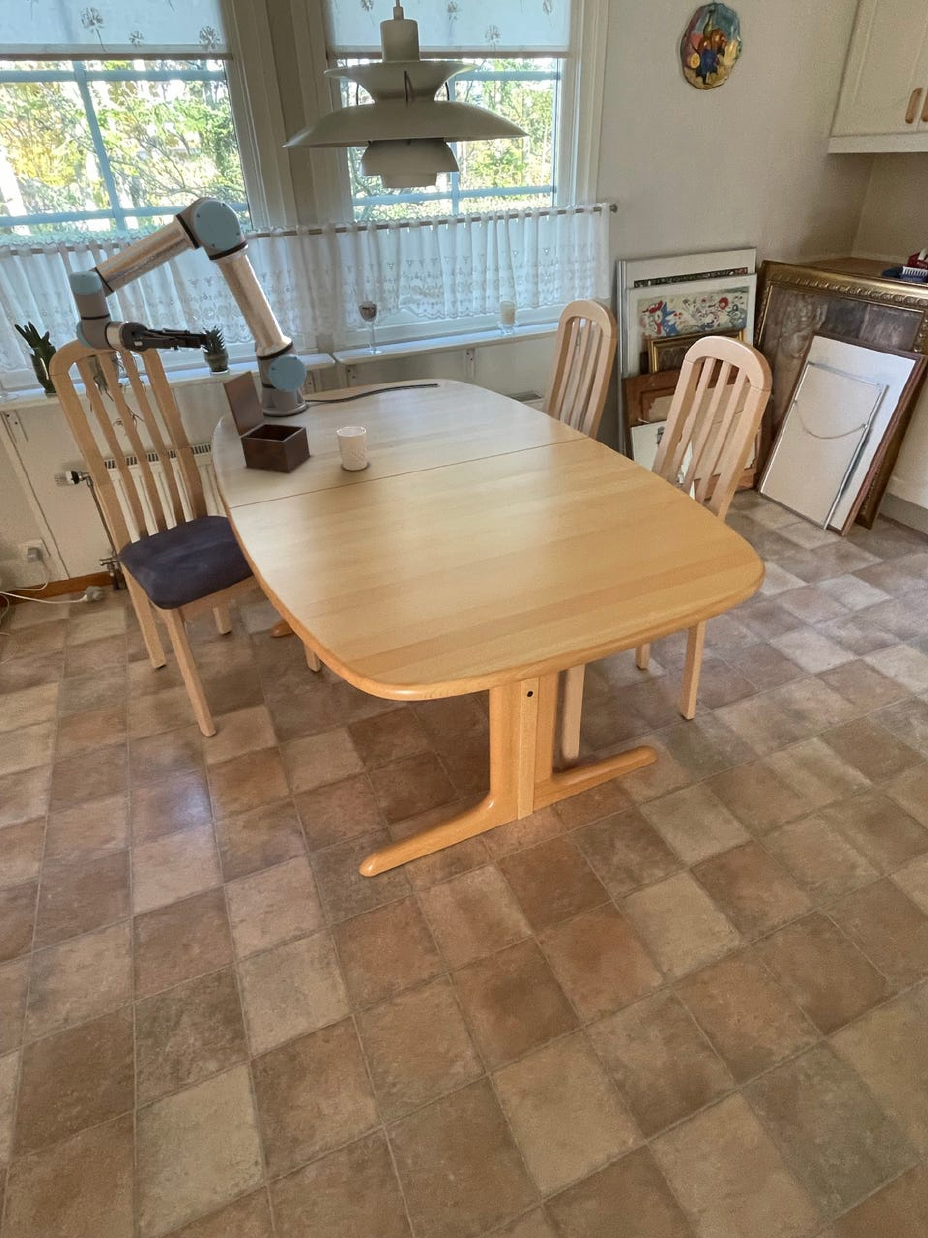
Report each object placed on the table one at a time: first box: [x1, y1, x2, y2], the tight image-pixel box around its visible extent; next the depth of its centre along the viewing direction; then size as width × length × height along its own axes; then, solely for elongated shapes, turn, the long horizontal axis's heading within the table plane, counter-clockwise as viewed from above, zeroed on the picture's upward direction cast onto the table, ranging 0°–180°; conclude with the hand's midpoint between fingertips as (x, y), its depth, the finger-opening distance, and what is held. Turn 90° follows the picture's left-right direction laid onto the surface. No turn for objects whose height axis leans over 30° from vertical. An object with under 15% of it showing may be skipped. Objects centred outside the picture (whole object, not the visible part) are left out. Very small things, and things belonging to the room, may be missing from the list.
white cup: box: [336, 425, 368, 471], centre depth 192 cm, size 8×8×10 cm
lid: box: [222, 369, 266, 437], centre depth 191 cm, size 14×12×1 cm
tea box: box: [240, 422, 311, 473], centre depth 196 cm, size 13×12×9 cm
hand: (203, 341), depth 184 cm, fingers open, 3 cm apart
